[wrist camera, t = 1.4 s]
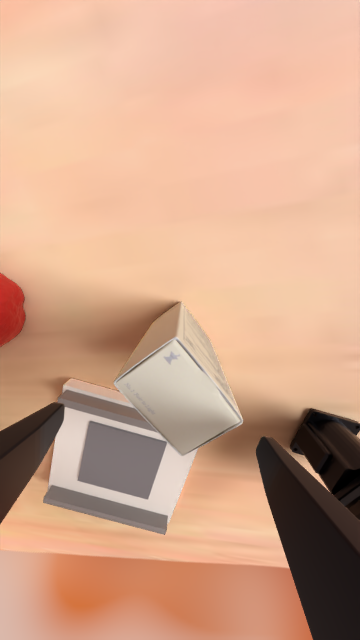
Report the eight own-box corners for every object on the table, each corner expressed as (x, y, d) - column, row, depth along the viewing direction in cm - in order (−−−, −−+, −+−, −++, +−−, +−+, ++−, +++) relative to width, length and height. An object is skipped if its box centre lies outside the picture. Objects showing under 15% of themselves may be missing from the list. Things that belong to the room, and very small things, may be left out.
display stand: (206, 415, 24) (208, 435, 21) (169, 510, 28) (167, 538, 25) (71, 377, 23) (54, 392, 20) (54, 480, 28) (39, 504, 25)
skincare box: (151, 321, 21) (105, 380, 9) (182, 299, 20) (174, 331, 9) (184, 362, 22) (179, 462, 10) (214, 342, 21) (247, 424, 10)
